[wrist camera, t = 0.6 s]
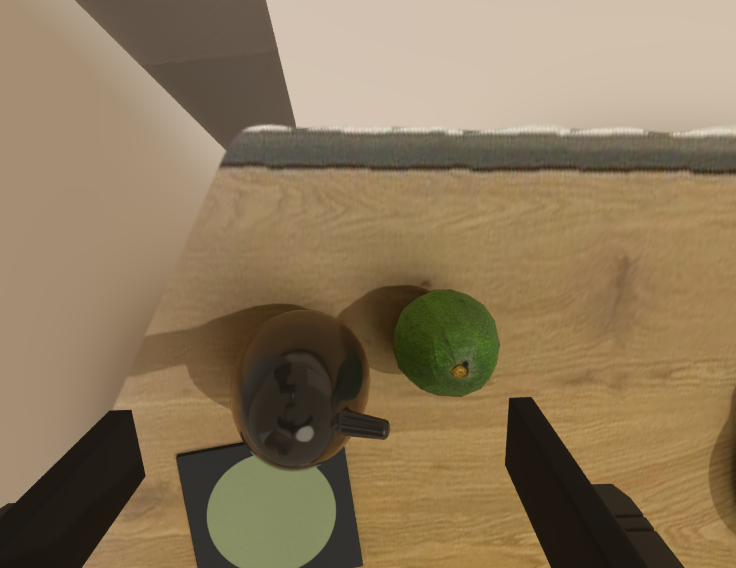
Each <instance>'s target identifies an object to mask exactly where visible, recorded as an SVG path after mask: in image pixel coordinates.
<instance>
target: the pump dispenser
mask: <svg viewBox="0 0 736 568" xmlns="http://www.w3.org/2000/svg"><path fill="white" fill-rule="evenodd" d="M369 388H370V370H369V363H368V359H367V356H366V353H365V350H364V348H363V346H362V344H361V342H360V340H359V339H358V337H357V336H356V335H355V333H354V332H353V331H352V330H351V329H350V328H349V327H348V326H347V325H346V324H344V323H343V322H342V321H340V320H339V319H337V318H335V317H333V316H331V315H329V314H326V313H323V312H320V311H315V310H293V311H288V312H284V313H281V314H278V315H276V316H274V317H272V318H270V319H268V320H267V321H265V322H264V323H262V324H261V325H260V326H259V327H258V328H257V329H256V330H255V331H254V332H253V333H252V334H251V335H250V336H249V337H248V339H247V340H246V342H245V343H244V345H243V346H242V348H241V350H240V352H239V354H238V357H237V359H236V362H235V366H234V369H233V373H232V378H231V386H230V403H231V410H232V415H233V419H234V422H235V425H236V428H237V430H238V432H239V435H240V437H241V438H242V440H243V442H244V444H245V445H246V447H247V448H248V449H249V451H250V452H251V453H252V454H253V455H254V456H255V457H256V458H257V459H258V460H260V461H261V462H262V463H264V464H265V465H267V466H269V467H271V468H274V469H277V470H281V471H286V472H299V471H305V470H309V469H312V468H315V467H317V466H319V465H321V464H323V463H325V462H326V461H328V460H329V459H331V458H332V457H333V456H334V455H336V454H337V453H338V452H339V451H340V450H341V449H342V448H343V447H344V446H345V444H346V443H347V442H348V441H349V439H350V438H351V437H362V438H371V439H381V440H385V439H386V438H387V437H388V436H389V432H390V424H389V422H388V421H387V420H385V419H381V418H377V417H374V416H370V415H366V414H364V412H365V409H366V405H367V401H368V396H369Z"/></svg>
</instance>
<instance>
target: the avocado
mask: <svg viewBox="0 0 736 568" xmlns="http://www.w3.org/2000/svg"><path fill="white" fill-rule="evenodd" d="M499 346H500V343H499V338H498V334H497V329H496V325H495V320H494V319H493V318H492V316H491V315H490V313H489V312H488V310H487V309H486V307H485V306H484V305H483V304H481V303H480V302H478V301H477V300H475V299H474V298H472V297H470V296H469V295H467V294H464V293H461V292H457V291H454V290H434V291H431V292H429V293H426V294H424V295H422V296H419V297H417V298H416V299H415V300H414V301H412V302H411V303H410V304H409V305H407V306H406V307H405V308H404V309H403V311H402V312H401V314H400V316H399V319H398V322H397V325H396V328H395V331H394V347H393V349H394V353H395V356H396V360H397V364H398V367H399V369H400V370H401V371H402V372H403V373H404V374H405V375H406V376H407V377H408V379H409V380H410V381H412V382H413V383H414V384H415V385H417V386H418V387H419V388H420V389H422V390H424V391H426V392H429V393H432V394H435V395H438V396H452V397H462V396H465V395H467V394H469V393H472V392H474V391H477V390H479V389H481V388H482V387H483V386H484V384H485V383H486V382H487V381H488V380H489V378H490V377H491V375H492V373H493V371H494V369H495V366H496V364H497V359H498V353H499Z"/></svg>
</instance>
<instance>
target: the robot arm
mask: <svg viewBox="0 0 736 568" xmlns="http://www.w3.org/2000/svg"><path fill="white" fill-rule="evenodd" d="M505 466H506V468H507V471H508V473H509V475H510V477H511V480H512V482H513V484H514V486H515V488H516V491H517V493H518V495H519V497H520V500H521V502H522V504H523V506H524V508H525V511H526V513H527V515H528V517H529V520H530V522H531V524H532V526H533V529H534V531H535V533H536V535H537V537H538V540H539V542H540V544H541V546H542V549H543V551H544V553H545V555H546V557H547V560H548V562H549V564H550V566H551V568H684V567H683V565H682V564H681V563H680V561H679V560H678V559H677V557H676V556H675V555H674V554H673V552H672V551H671V550H670V548H669V547H668V546H667V545H666V543H665V542H664V541H663V539H662V538H661V537H660V536H659V534H658V533H657V532H656V531H654V528H653V526H652V525H651V524H650V523H649V521H648V520H647V519H646V517H643V514H642V512H641V511H640V510H639V508H638V507H637V506H636V505H635V503H634V502H633V501H632V499H631V498H630V497H629V496H627V495H626V494H625V493H623V492H622V491H621V490H619V489H618V488H617V487H615V486H614V485H613V484H591V483H590V482H589V480H588V479H587V477H586V476H585V474H584V473H583V471H582V470H581V468H580V467H579V466H578V464H577V463H576V461H575V460H574V458H573V457H572V455H571V454H570V452H569V451H568V450H567V448H566V447H565V445H564V444H563V442H562V441H561V439H560V438H559V436H558V435H557V434H556V432H555V431H554V429H553V428H552V426H551V425H550V423H549V422H548V420H547V419H546V418H545V416H544V415H543V413H542V412H541V410H540V409H539V407H538V406H537V404H536V403H535V402H534V400H533V399H532V397H519V398H509V410H508V425H507V441H506V457H505ZM144 478H145V471H144V466H143V462H142V457H141V452H140V448H139V443H138V438H137V434H136V429H135V424H134V420H133V415H132V410H114V411H109V412H108V413H107V414H106V415H105V416H104V417H102V418H101V420H99V421H98V422H97V423H96V424H95V425H94V427H92V428H91V429H90V430H89V431H88V432H87V433H86V434H85V435H84V436H83V437H82V438H81V439H80V440H79V441H78V442H77V443H76V444H75V445H74V446H73V447H72V448H71V449H70V450H69V451H68V452H67V453H66V454H65V455H64V456H63V457H62V458H61V459H60V460H59V461H58V462H57V463H56V464H55V465H54V466H53V467H51V468H50V469H49V471H47V473H45V474H44V476H42V477H41V478H40V479H39V480H38V481H37V482H36V483H35V484H34V485H33V486H32V487H31V488H30V489H29V490H28V491H27V492H26V493H25V494H24V495H23V496H22V497H21V498H20V499H19V500H18V501H17V502H16V503H9V504H6V505H5V506H3V507H2V508H0V568H82V567H83V565H84V564H85V562H86V561H87V559H88V558H89V557H90V555H91V554H92V552H93V551H94V549H95V548H96V546H97V545H98V544H99V542H100V541H101V539H102V538H103V536H104V535H105V534H106V532H107V531H108V529H109V528H110V526H111V525H112V524H113V522H114V521H115V519H116V518H117V516H118V515H119V513H120V512H121V511H122V509H123V508H124V506H125V505H126V503H127V502H128V501H129V499H130V498H131V496H132V495H133V493H134V492H135V491H136V489H137V488H138V486H139V485H140V483H141V482H142V481H143V479H144Z"/></svg>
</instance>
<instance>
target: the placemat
mask: <svg viewBox="0 0 736 568" xmlns="http://www.w3.org/2000/svg"><path fill="white" fill-rule="evenodd" d="M176 458H177V463H178V468H179V473H180V478H181V484H182V489H183V494H184V499H185V504H186V509H187V514H188V519H189V524H190V529H191V534H192V540H193V545H194V550H195V555H196V560H197V565H198V568H355V567H360V566H363V561H362V555H361V549H360V543H359V536H358V530H357V524H356V517H355V511H354V505H353V499H352V492H351V486H350V480H349V474H348V467H347V461H346V455H345V449H344V447H343V448H342V449H341V450H340V451H339V452H338V453H337V454H336V455H334V456H333V457H332V458H331V459H329V460H328V461H326V462H325V463H323V464H321V465H319V466H317V467H315V468H312V469H309V470H305V471H299V472H286V471H281V470H277V469H274V468H271V467H269V466H267V465H265V464H264V463H262V462H261V461H260V460H258V459H257V458H256V457H255V456H254V455H253V454H252V453H251V452H250V451H249V449H248V448H247V447H246V445H245V444H244V443H241V444H235V445H230V446H224V447H219V448H213V449H208V450H202V451H197V452H191V453H186V454H180V455H178V456H177V457H176Z"/></svg>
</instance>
